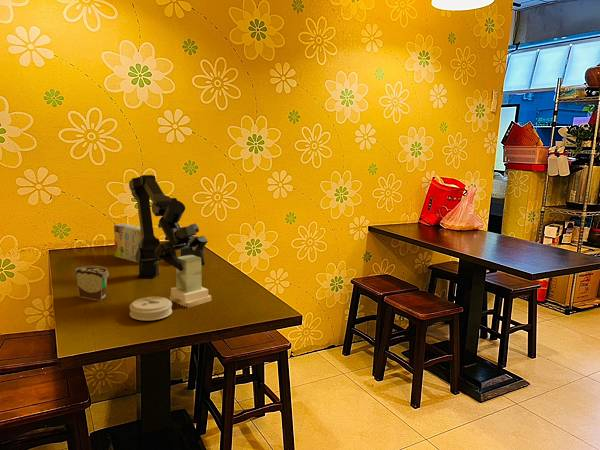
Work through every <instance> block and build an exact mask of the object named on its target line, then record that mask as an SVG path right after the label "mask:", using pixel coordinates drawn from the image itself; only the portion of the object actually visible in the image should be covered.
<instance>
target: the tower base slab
mask: <svg viewBox="0 0 600 450" xmlns="http://www.w3.org/2000/svg"><path fill="white" fill-rule="evenodd" d="M212 297H213V296H212V295H211V294H208V297H205V298H201V299H197V300H193V301H189V302H184V301H182V300H180V299H178V298H176V297H174V296H172V295H171V294H170V295H169V297H168V298H169V299H168V300H170V301H171V302H172V301H173V302H172V303H174V302H176V303H175V304H177V303H178V304H177V305H179V304H180V306H182V305H183V306H182V307H184V306H185V307H184V308H186V307H187V309H190V308H192V307H195V306H199V305H201V304H205V303H208V302H211V301H212ZM189 307H190V308H189Z"/></svg>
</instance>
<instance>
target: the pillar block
mask: <svg viewBox="0 0 600 450" xmlns="http://www.w3.org/2000/svg"><path fill="white" fill-rule="evenodd" d="M177 258H178V260H179V262H180V263H181V265H182V268H183V270H182V271H180V270H178V269H177V268H175V275H176V276H175V277H176V278H175V281H176V282H175V285H176V286H175V287H176V289H178V290H181V291H183V292H185V293H189V292H193V291H196V290H200V289H202V287H203V286H202V284H203V282H202V279H203V277H202V265H201V258H200V257H197V256H194V255H191V254H190V255H185V256H181V255H180V256H177Z"/></svg>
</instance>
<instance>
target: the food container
mask: <svg viewBox="0 0 600 450" xmlns="http://www.w3.org/2000/svg"><path fill="white" fill-rule="evenodd" d="M74 275H76V282H77V285H76V286H77V291H78V298H83V299H86V300H87V299H88V300H94V301H97V302H102V301H104V300H105V299H106V295H107V281H108V279H107V278H108V277H109V276H110V273H109V271H108V268H107V267H105V266H102V265H100V266H99V265H86V266H79V267H75V270H74Z"/></svg>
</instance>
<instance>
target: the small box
mask: <svg viewBox="0 0 600 450" xmlns="http://www.w3.org/2000/svg"><path fill="white" fill-rule="evenodd" d="M195 237H197V236H196V235H193V236H191V239H190V240H189V241H188V242H192V241H193V240H194V238H195ZM192 252H193V251H191V250H190V248H187V249H182V250H180V257H181V256H185V255H190V254H191V255H193V254H192Z"/></svg>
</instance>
